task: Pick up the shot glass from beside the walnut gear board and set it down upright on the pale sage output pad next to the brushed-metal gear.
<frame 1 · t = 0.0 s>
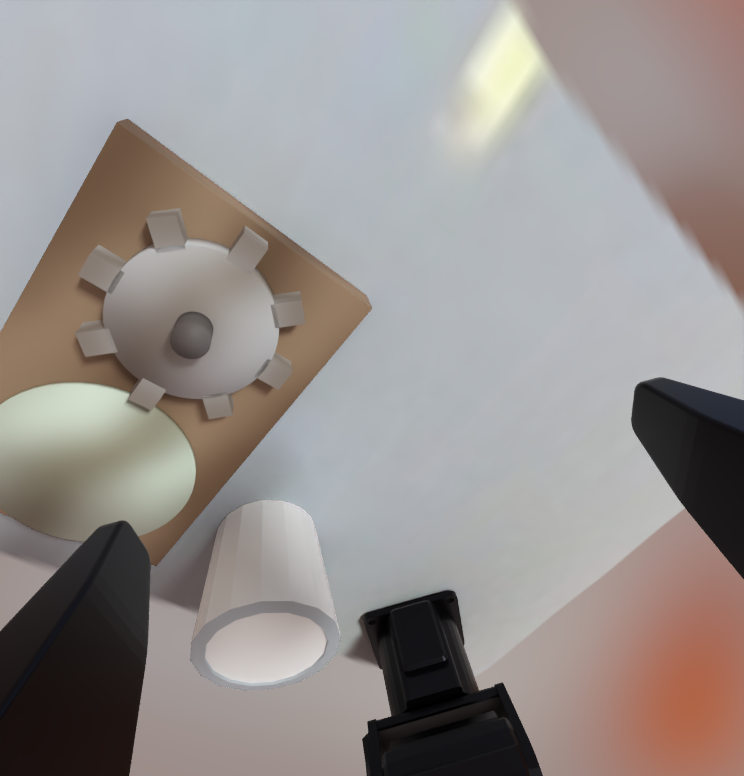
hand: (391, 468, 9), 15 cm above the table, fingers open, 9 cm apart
shot glass: (267, 533, 30), on the table
gear board: (148, 379, 23), on the table
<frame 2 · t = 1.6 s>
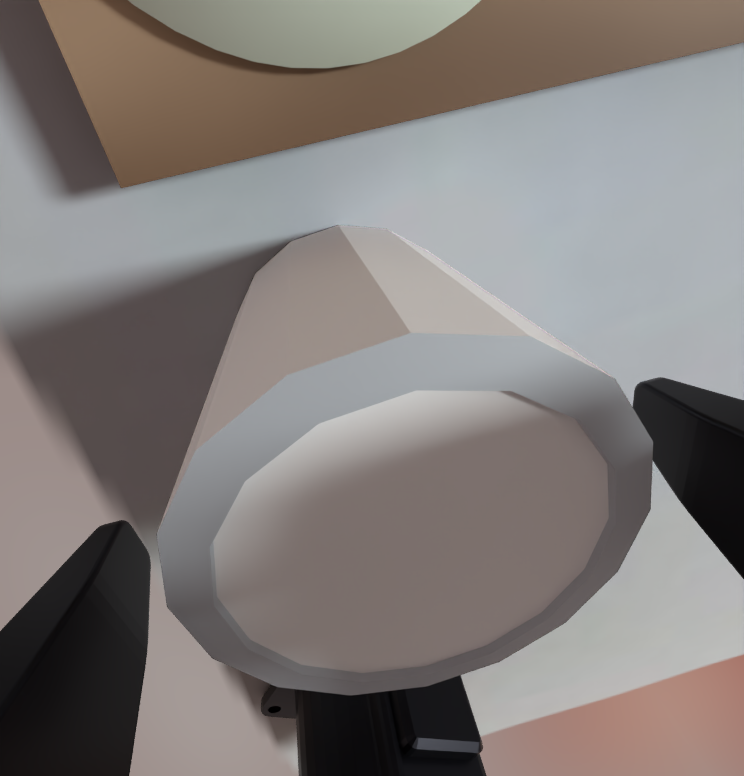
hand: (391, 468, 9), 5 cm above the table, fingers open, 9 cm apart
shot glass: (350, 335, 13), on the table
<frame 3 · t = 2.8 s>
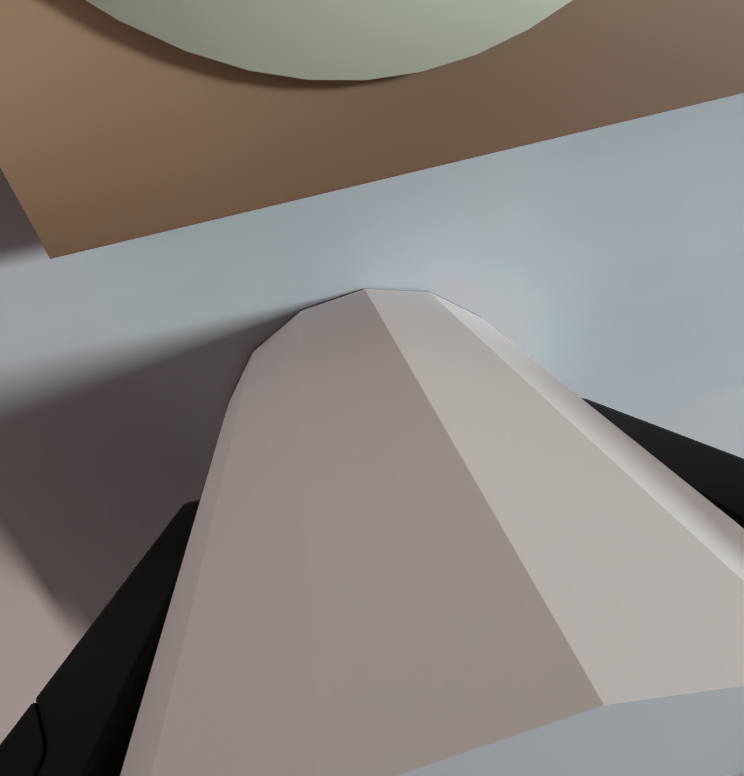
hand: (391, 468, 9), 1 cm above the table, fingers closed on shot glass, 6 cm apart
shot glass: (375, 420, 10), on the table, touching gripper
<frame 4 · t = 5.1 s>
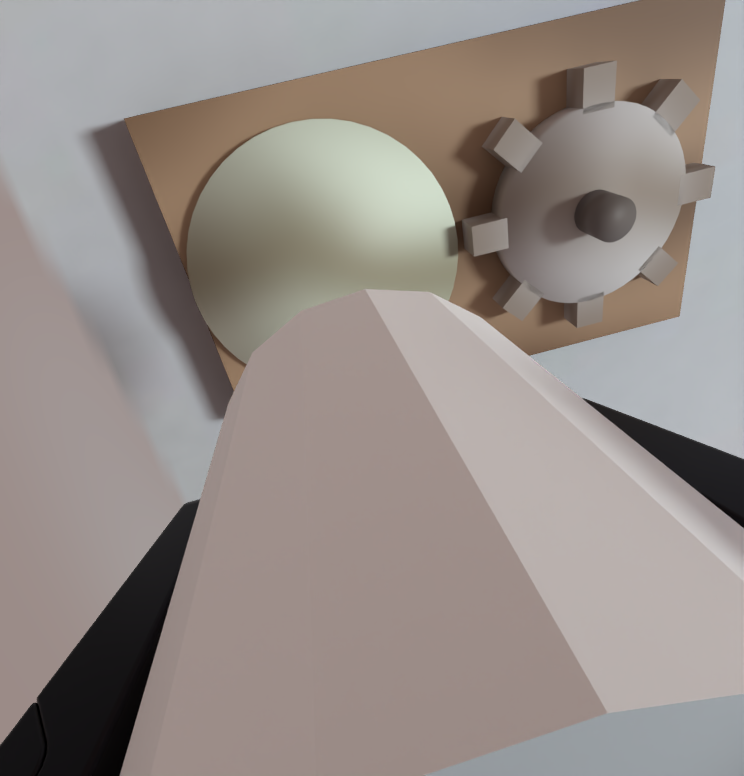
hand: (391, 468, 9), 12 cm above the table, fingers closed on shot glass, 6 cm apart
shot glass: (376, 421, 10), point 10 cm above the table, touching gripper
gear board: (442, 226, 19), on the table
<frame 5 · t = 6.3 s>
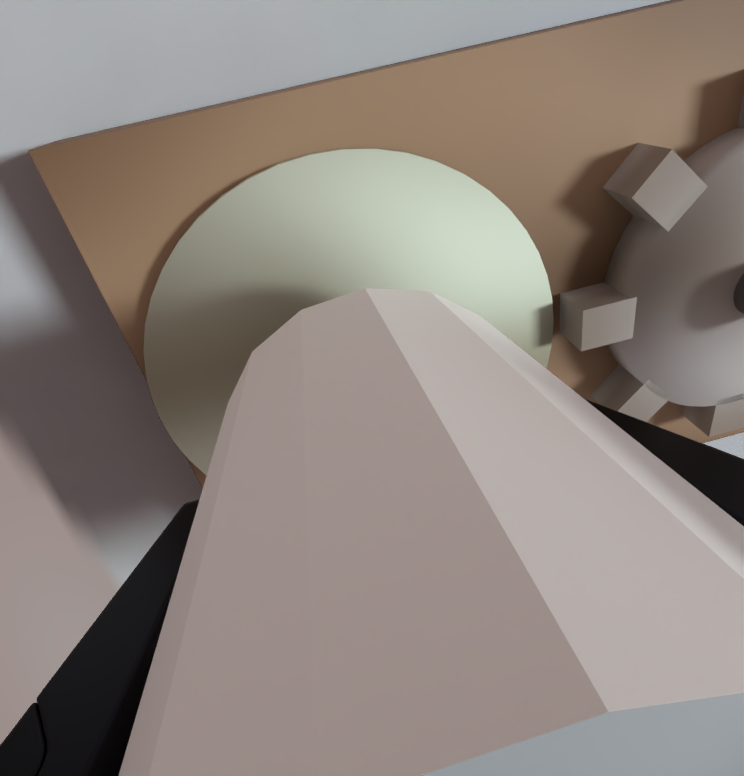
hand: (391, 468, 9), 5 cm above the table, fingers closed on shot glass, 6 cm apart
shot glass: (376, 420, 10), point 4 cm above the table, touching gripper
gear board: (520, 292, 13), on the table
when the fingers open (4 cm above the table, at t = 7.4 s): shot glass stays where it is, resting on gear board.
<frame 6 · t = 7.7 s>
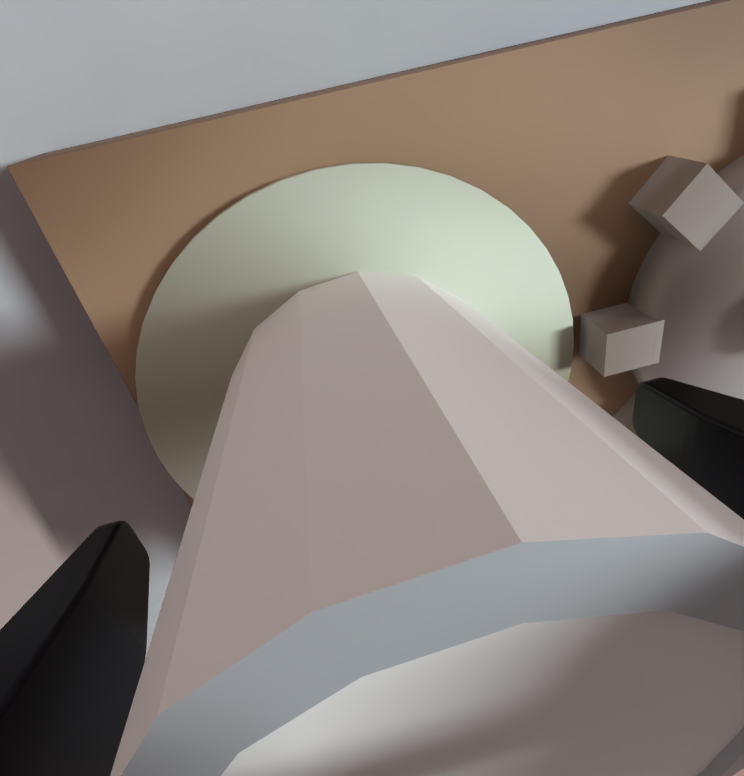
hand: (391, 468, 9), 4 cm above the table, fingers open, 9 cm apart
shot glass: (367, 396, 11), point 2 cm above the table, touching gear board
gear board: (536, 311, 12), on the table
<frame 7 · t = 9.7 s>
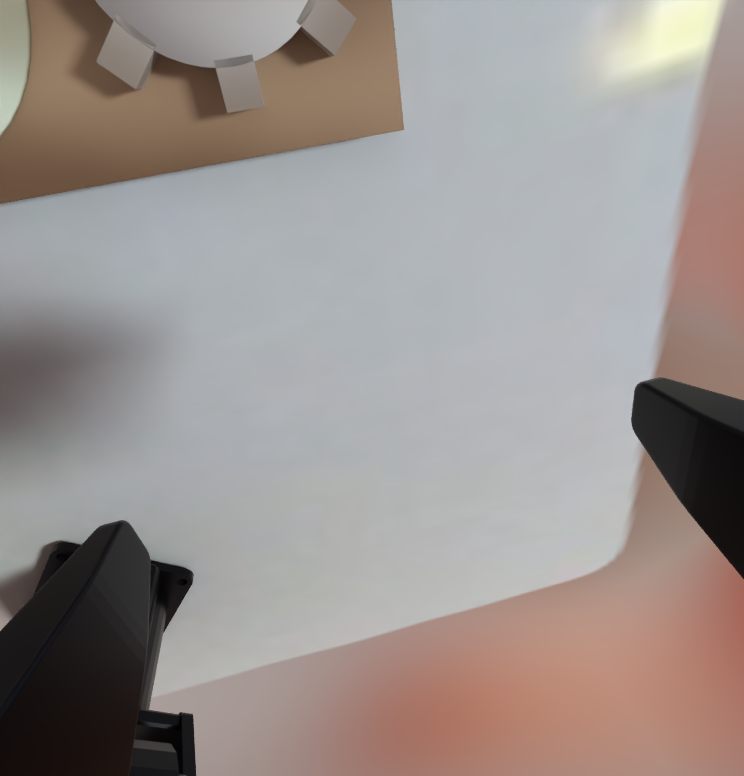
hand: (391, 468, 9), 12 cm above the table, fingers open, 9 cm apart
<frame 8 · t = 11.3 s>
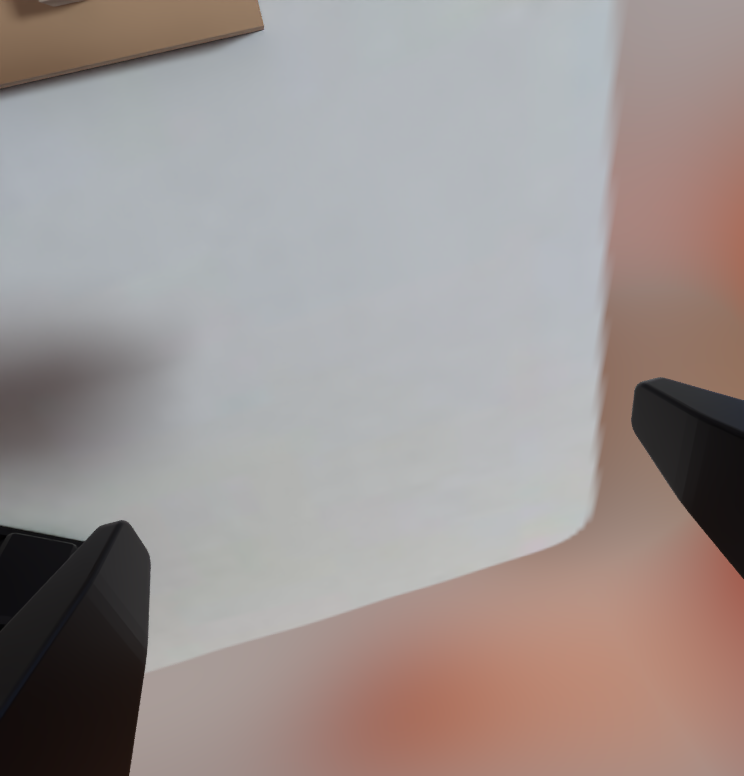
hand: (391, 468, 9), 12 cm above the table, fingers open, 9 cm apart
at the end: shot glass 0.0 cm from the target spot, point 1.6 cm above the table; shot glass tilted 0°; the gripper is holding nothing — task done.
